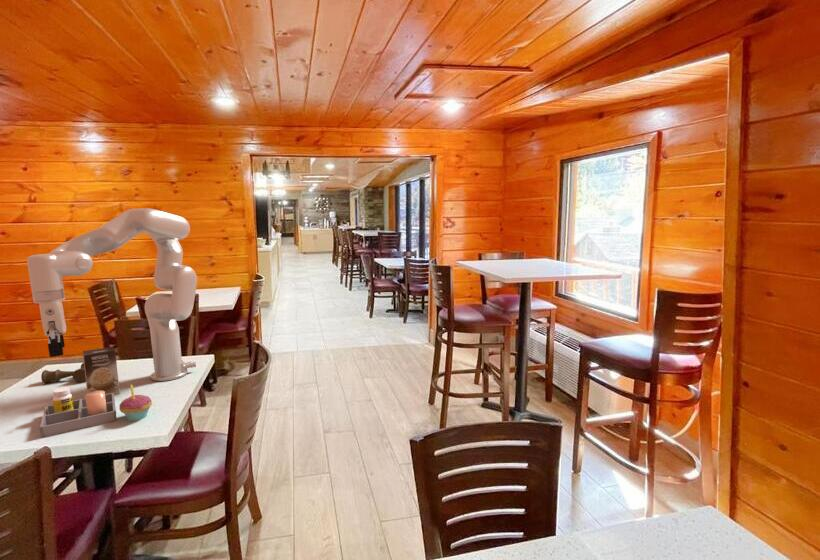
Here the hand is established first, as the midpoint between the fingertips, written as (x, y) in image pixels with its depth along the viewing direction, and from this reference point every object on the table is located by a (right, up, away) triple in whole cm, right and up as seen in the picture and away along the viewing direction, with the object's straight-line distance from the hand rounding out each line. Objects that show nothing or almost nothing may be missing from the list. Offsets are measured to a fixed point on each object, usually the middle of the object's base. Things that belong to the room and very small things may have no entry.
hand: (57, 351), depth 142 cm
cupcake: (+24, -20, 0) cm, 31 cm away
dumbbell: (-20, -16, +36) cm, 44 cm away
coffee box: (+2, -18, +19) cm, 26 cm away
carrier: (+7, -21, +1) cm, 22 cm away
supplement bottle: (+1, -20, +2) cm, 20 cm away
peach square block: (+13, -20, -1) cm, 24 cm away
